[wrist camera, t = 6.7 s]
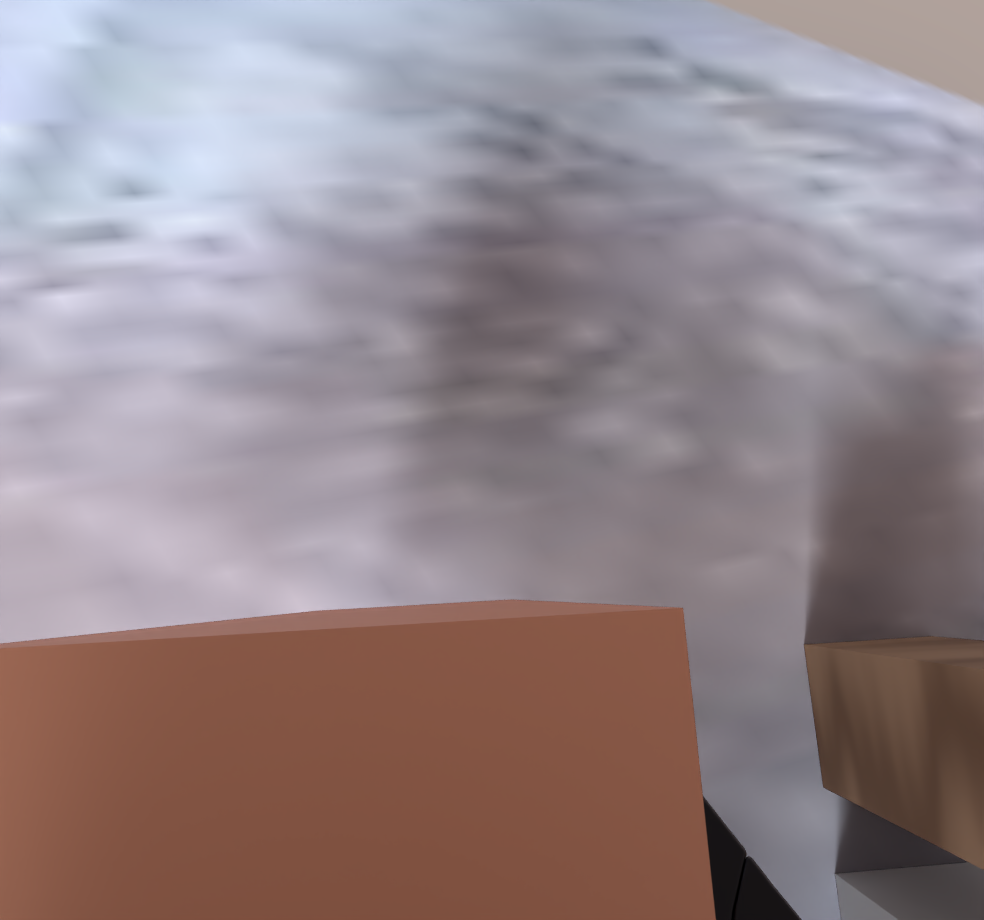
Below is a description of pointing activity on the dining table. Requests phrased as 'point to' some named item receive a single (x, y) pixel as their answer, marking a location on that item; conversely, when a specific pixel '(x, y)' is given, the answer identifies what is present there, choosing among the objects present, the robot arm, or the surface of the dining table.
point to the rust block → (357, 768)
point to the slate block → (913, 893)
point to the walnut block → (905, 733)
